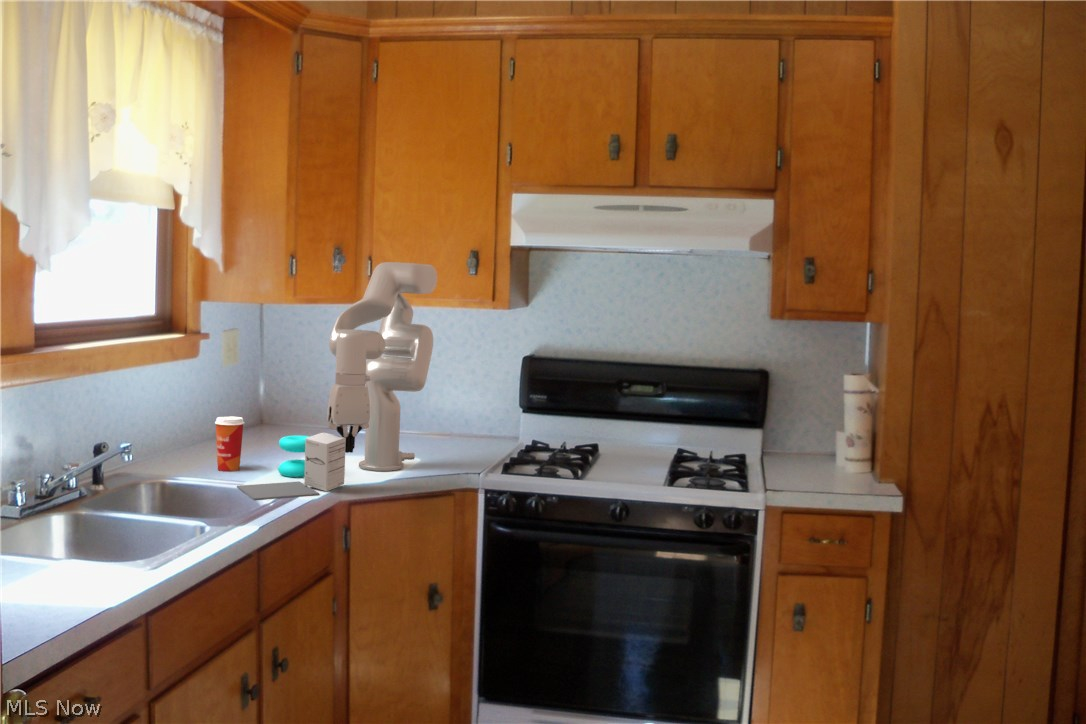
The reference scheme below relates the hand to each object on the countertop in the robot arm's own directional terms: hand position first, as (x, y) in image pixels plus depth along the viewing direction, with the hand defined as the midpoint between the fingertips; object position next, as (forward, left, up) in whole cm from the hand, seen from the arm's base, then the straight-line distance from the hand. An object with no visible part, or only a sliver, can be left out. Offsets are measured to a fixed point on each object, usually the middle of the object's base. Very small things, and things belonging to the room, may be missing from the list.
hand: (347, 451), depth 253 cm
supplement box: (+6, 0, -9) cm, 10 cm away
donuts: (+7, -18, -9) cm, 22 cm away
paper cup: (+22, -30, -9) cm, 39 cm away
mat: (+18, 0, -9) cm, 20 cm away
